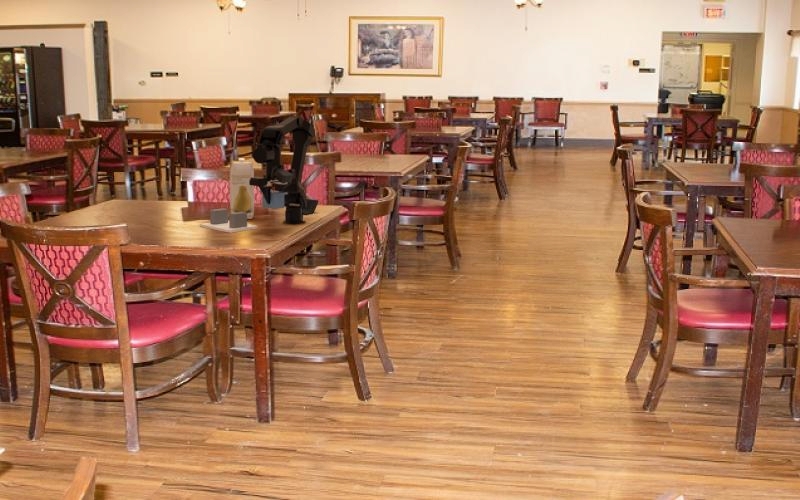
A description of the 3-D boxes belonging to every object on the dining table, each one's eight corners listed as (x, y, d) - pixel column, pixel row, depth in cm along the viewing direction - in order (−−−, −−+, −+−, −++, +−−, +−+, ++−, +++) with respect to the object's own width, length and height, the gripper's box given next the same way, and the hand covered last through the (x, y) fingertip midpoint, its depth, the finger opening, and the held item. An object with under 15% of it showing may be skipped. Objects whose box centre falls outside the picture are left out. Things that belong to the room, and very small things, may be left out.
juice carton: (231, 219, 348) (230, 159, 343) (229, 216, 356) (228, 157, 351) (255, 219, 351) (254, 159, 346) (252, 216, 358) (252, 157, 353)
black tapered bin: (282, 210, 366) (292, 189, 370) (287, 218, 372) (296, 198, 376) (307, 216, 362) (316, 195, 366) (312, 224, 369) (321, 204, 372)
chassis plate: (227, 222, 341) (227, 206, 340) (257, 228, 330) (257, 212, 329) (199, 226, 332) (199, 210, 330) (230, 232, 320) (230, 216, 319)
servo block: (268, 205, 333) (268, 188, 332) (287, 208, 326) (287, 191, 325) (259, 206, 329) (259, 189, 328) (279, 209, 323) (278, 192, 321)
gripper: (268, 164, 312) (268, 208, 315) (306, 161, 326) (306, 203, 329) (248, 162, 319) (248, 204, 322) (286, 159, 333) (286, 200, 336)
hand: (273, 203), depth 327 cm, fingers closed on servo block, 4 cm apart
